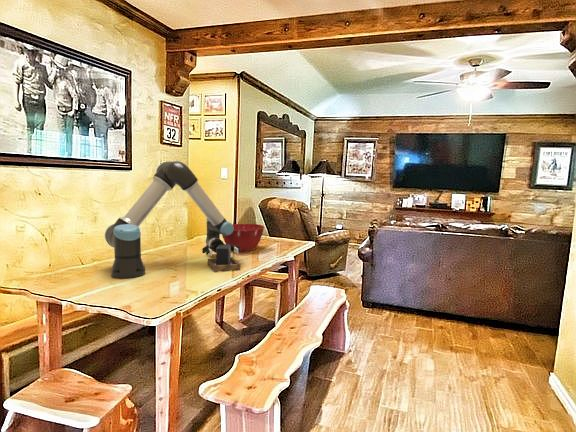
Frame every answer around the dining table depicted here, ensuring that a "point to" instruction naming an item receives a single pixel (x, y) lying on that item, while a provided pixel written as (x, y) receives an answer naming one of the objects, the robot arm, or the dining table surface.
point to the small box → (223, 255)
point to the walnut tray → (233, 265)
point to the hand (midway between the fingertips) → (224, 252)
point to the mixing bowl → (245, 236)
